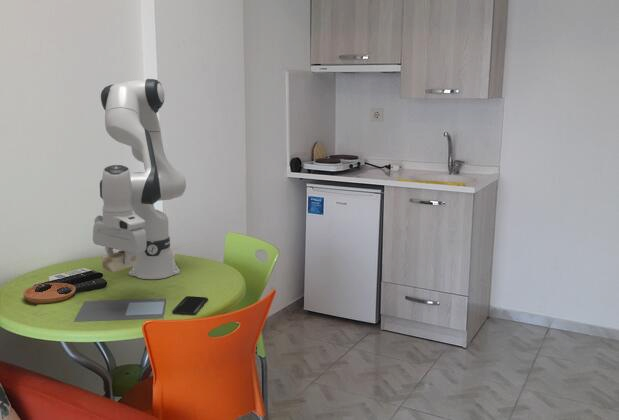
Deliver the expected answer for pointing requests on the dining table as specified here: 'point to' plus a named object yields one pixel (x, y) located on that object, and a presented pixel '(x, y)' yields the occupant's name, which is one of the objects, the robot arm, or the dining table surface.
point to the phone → (190, 305)
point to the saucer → (48, 293)
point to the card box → (117, 261)
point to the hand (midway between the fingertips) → (119, 262)
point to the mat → (121, 310)
